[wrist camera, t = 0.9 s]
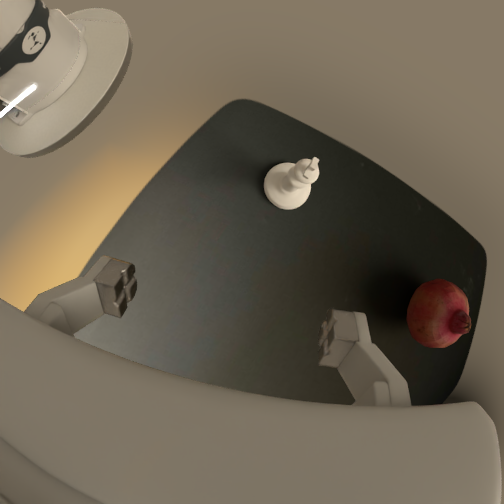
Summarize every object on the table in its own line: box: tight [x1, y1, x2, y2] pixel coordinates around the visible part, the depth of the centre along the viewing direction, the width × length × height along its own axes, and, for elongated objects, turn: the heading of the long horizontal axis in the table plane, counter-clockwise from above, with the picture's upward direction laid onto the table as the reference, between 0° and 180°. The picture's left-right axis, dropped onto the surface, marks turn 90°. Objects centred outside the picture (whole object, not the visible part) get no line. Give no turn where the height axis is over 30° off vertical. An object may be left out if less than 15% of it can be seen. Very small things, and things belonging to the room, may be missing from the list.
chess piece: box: [264, 157, 319, 209], centre depth 24 cm, size 5×5×10 cm
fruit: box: [407, 279, 471, 348], centre depth 26 cm, size 8×8×10 cm
